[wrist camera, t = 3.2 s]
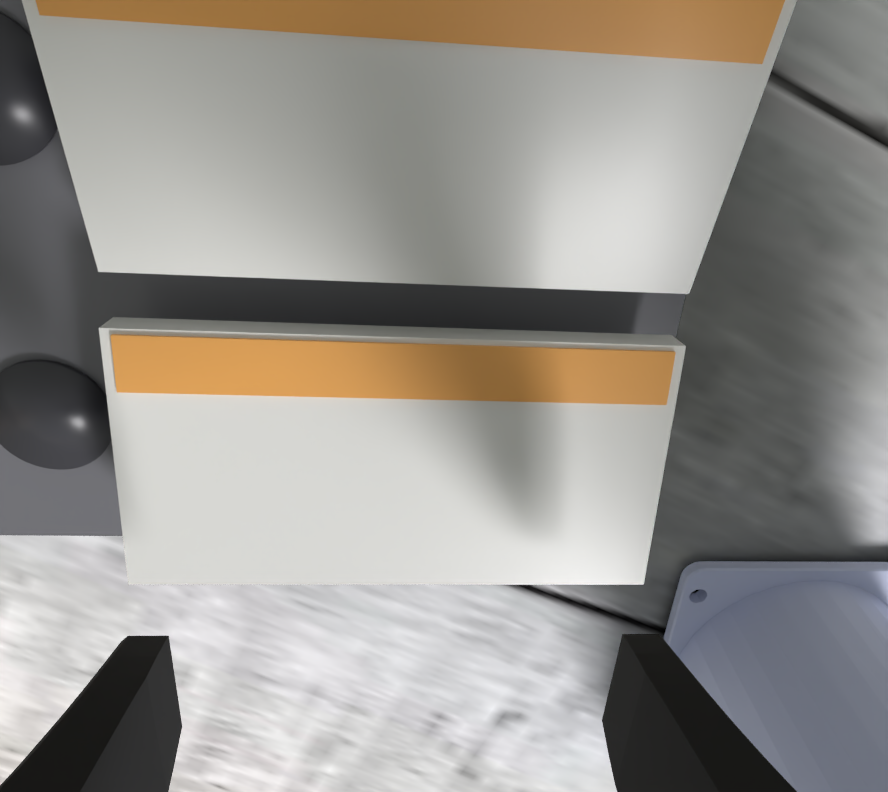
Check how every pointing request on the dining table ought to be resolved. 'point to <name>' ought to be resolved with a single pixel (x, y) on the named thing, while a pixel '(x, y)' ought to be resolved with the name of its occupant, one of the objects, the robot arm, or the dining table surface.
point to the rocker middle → (407, 135)
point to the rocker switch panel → (169, 314)
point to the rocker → (386, 452)
